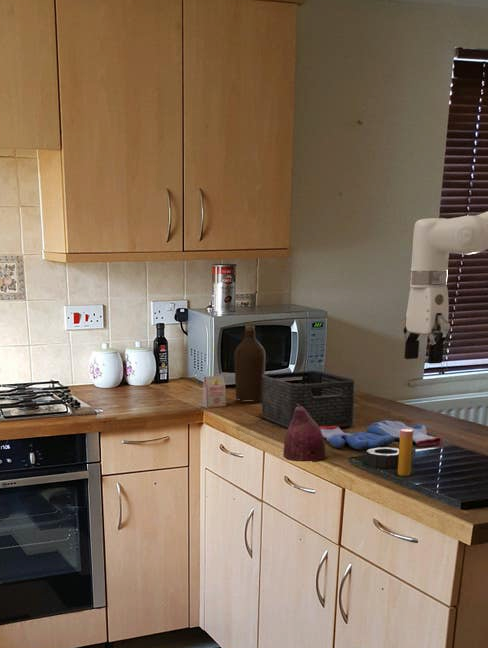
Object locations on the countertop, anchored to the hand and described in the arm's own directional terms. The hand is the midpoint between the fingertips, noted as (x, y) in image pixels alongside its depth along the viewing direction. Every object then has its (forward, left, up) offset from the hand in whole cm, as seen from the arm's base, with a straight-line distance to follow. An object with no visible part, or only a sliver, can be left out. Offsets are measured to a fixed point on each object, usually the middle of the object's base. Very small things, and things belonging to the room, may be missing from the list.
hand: (422, 360), depth 193 cm
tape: (+7, -3, -24) cm, 26 cm away
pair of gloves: (+14, -29, -25) cm, 41 cm away
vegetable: (+27, -4, -25) cm, 37 cm away
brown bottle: (+69, -82, -25) cm, 110 cm away
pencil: (+1, +6, -25) cm, 25 cm away
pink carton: (+77, -69, -25) cm, 107 cm away
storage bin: (+40, -50, -25) cm, 69 cm away
